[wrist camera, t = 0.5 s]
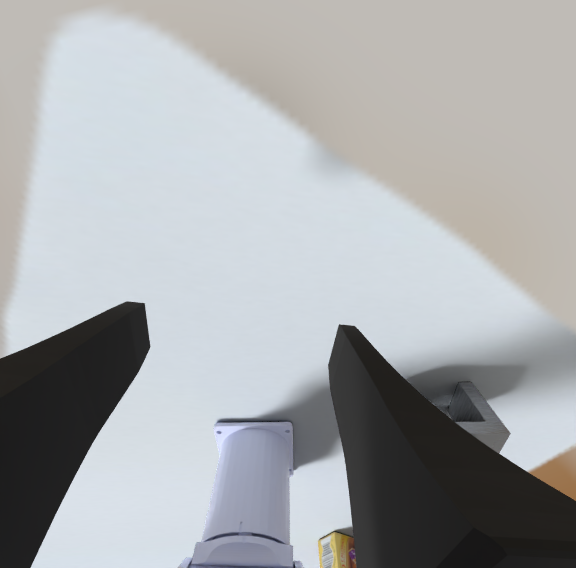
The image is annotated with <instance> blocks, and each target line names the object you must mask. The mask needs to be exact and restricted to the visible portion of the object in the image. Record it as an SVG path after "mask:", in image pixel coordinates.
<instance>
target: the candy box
mask: <svg viewBox="0 0 576 568" xmlns="http://www.w3.org/2000/svg"><path fill="white" fill-rule="evenodd" d="M318 547H319V559H320V568H356V558H355V546H354V538H352V537H349V536H346V535H343V534H339V533H336V532H333V533H331V534H329V535H327V536H326V537H324V538H322V539H320V540H319V541H318Z"/></svg>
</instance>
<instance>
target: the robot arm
mask: <svg viewBox="0 0 576 568" xmlns="http://www.w3.org/2000/svg"><path fill="white" fill-rule="evenodd" d="M149 349H150V341H149V333H148V326H147V318H146V311H145V303H137V302H128V301H127V302H125V303H122V304H120V305H118V306H116V307H113V308H111V309H109V310H107V311H105V312H103V313H101V314H99V315H97V316H95V317H93V318H91V319H89V320H87V321H84V322H82V323H80V324H78V325H76V326H74V327H72V328H70V329H68V330H66V331H64V332H61V333H59V334H57V335H55V336H52V337H50V338H48V339H46V340H44V341H41V342H39V343H37V344H35V345H32V346H30V347H28V348H25V349H23V350H21V351H18V352H16V353H13V354H11V355H8V356H6V357H3V358H1V359H0V568H31V566H32V563H33V561H34V559H35V557H36V555H37V552H38V550H39V548H40V546H41V544H42V542H43V540H44V538H45V536H46V533H47V531H48V529H49V527H50V525H51V523H52V521H53V519H54V517H55V514H56V512H57V510H58V508H59V506H60V504H61V502H62V500H63V498H64V497H65V495H66V493H67V491H68V489H69V487H70V485H71V483H72V481H73V479H74V477H75V475H76V473H77V471H78V469H79V467H80V465H81V464H82V462H83V460H84V458H85V456H86V454H87V452H88V450H89V449H90V447H91V445H92V443H93V442H94V440H95V438H96V437H97V435H98V433H99V432H100V430H101V428H102V427H103V425H104V424H105V422H106V421H107V419H108V418H109V416H110V415H111V413H112V412H113V410H114V409H115V407H116V406H117V404H118V403H119V401H120V400H121V398H122V397H123V395H124V394H125V392H126V391H127V389H128V387H129V386H130V384H131V383H132V381H133V380H134V378H135V377H136V375H137V373H138V372H139V370H140V368H141V366H142V364H143V362H144V360H145V358H146V355H147V353H148V351H149ZM328 367H329V380H330V390H331V395H332V400H333V405H334V409H335V414H336V419H337V423H338V428H339V433H340V437H341V442H342V446H343V452H344V457H345V463H346V471H347V479H348V488H349V496H350V505H351V515H352V525H353V535H354V546H355V558H356V568H576V501H575V500H573V499H572V498H570V497H568V496H566V495H565V494H563V493H561V492H560V491H558V490H556V489H555V488H553V487H551V486H549V485H548V484H546V483H545V482H543V481H541V480H540V479H538V478H536V477H534V476H533V475H531V474H530V473H528V472H526V471H525V470H523V469H522V468H520V467H519V466H517V465H516V464H514V463H512V462H511V461H509V460H508V459H506V458H505V457H503V456H502V455H500V454H499V453H497V452H496V451H494V450H493V449H491V448H490V447H488V446H487V445H486V444H484V443H483V442H481V441H480V440H478V439H477V438H476V437H474V436H473V435H472V434H470V433H469V432H467V431H466V430H465V429H463V428H462V427H461V426H459V425H458V424H457V423H455V422H454V421H453V420H451V419H450V418H449V417H448V416H446V415H445V414H444V413H443V412H441V411H440V410H439V409H438V408H437V407H435V406H434V405H433V404H432V403H431V402H429V401H428V400H427V399H426V398H425V397H423V396H422V395H421V394H420V393H419V392H418V391H417V390H416V389H414V388H413V387H412V386H411V385H410V384H409V383H408V382H407V381H406V380H405V379H404V378H403V377H402V376H401V375H400V374H399V373H398V372H397V371H396V370H395V369H394V368H393V367H392V366H391V365H390V364H389V363H388V362H387V361H386V360H385V359H384V358H383V357H382V355H381V354H380V353H379V352H378V351H377V350H376V349H375V348H374V347H373V346H372V344H371V343H370V342H369V341H368V340H367V339H366V338H365V337H364V335H363V334H362V333H361V332H360V331H359V330H358V329H357V328H356V327H355V326H349V325H340V324H339V327H338V330H337V334H336V338H335V342H334V345H333V349H332V353H331V357H330V360H329V364H328ZM214 433H215V437H216V441H217V446H218V450H219V454H220V457H219V461H218V466H217V471H216V475H215V480H214V485H213V489H212V494H211V498H210V503H209V508H208V512H207V517H206V522H205V526H204V531H203V536H202V540H201V542H197V543H196V545H195V549H194V554H193V558H185V559H184V560H183V561H182V563H181V564H180V566H179V567H178V568H304V567H303V565H302V563H301V561H294V562H293V546H292V545H290V508H289V477H292V476H293V425H292V423H290V422H242V423H216V424H215V425H214Z"/></svg>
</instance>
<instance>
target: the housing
mask: <svg viewBox="0 0 576 568" xmlns="http://www.w3.org/2000/svg"><path fill="white" fill-rule="evenodd" d="M448 412H449V414H450V416H451V417H452V419H453V421H454V422H455V423H457V424H458V425H459V426H461V427H462V428H463V429H465V430H466V431H467V432H469V433H470V434H472V435H473V436H474V437H476V438H477V439H478V440H480V441H481V442H483V443H484V444H486V445H487V446H488V447H490V448H491V449H493V450H494V451H496V452H497V453H499V452H500V451H501V449H502V447H503V446H504V444H505V442H506V440H507V439H508V437H509V435H510V432H509V431H508V429H507V428H506V427H505V426H504V424H503V423H502V422H501V420H500V419H499V418H498V416H497V415H496V414H495V412H494V411H493V410H492V408H491V407H490V406H489V404H488V403H487V402H486V400H485V399H484V398H483V396H482V395H481V394H480V393H479V391H478V390H477V389H476V387H475V386H474V385H473V383H472V382H458V385H457V388H456V390H455V393H454V396H453V398H452V401H451V403H450V406H449V409H448Z"/></svg>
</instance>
